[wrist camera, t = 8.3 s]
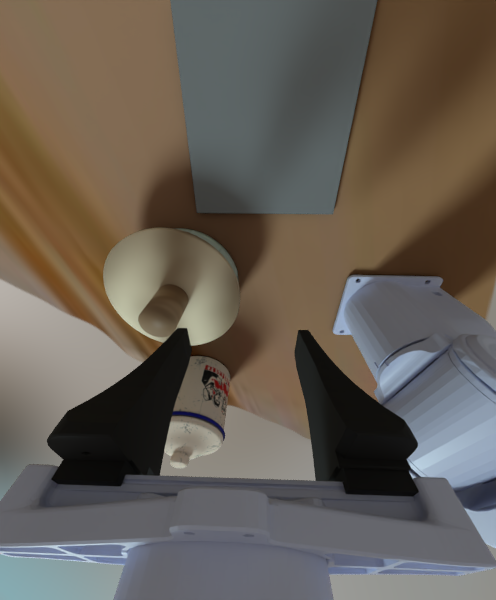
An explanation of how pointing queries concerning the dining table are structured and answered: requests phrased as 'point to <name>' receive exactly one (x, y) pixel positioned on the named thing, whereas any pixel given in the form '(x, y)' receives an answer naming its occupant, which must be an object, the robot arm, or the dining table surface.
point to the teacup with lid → (198, 412)
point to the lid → (172, 285)
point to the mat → (269, 99)
